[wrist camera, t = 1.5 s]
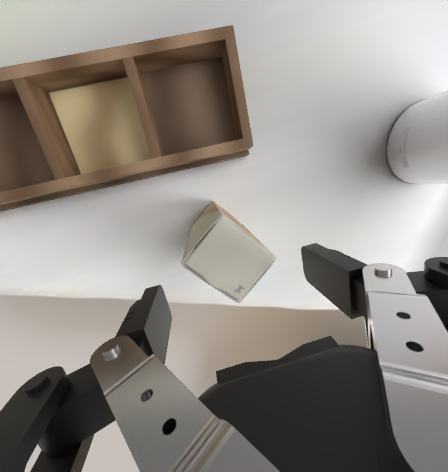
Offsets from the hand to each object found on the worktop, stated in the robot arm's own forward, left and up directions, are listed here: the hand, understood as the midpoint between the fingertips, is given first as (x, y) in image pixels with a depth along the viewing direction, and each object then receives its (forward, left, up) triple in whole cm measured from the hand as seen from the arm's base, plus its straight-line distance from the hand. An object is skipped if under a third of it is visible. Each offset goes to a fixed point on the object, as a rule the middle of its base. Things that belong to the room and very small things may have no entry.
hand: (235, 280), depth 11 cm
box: (0, 0, -13) cm, 13 cm away
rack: (+8, -12, -13) cm, 20 cm away
